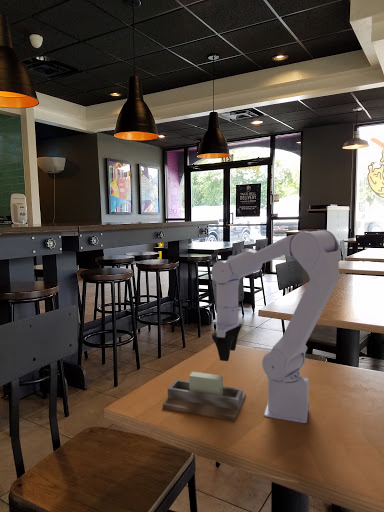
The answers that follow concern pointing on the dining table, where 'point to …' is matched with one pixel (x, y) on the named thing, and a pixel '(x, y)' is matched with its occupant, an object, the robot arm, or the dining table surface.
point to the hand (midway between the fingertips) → (227, 355)
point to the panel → (206, 383)
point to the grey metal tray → (204, 401)
